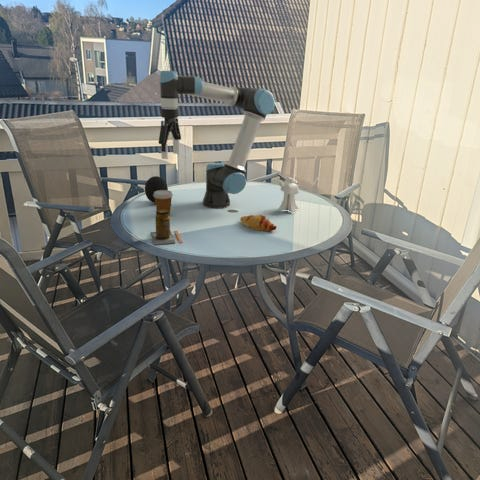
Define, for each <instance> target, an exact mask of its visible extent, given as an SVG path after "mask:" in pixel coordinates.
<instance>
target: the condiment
mask: <svg viewBox="0 0 480 480" xmlns="http://www.w3.org/2000/svg"><path fill="white" fill-rule="evenodd" d="M168 213H169V212H168V210H165V209H160V210H157V209H156V211H155V214H156V216H155V232H156V234H154V235H153V236H154V237H155V238H156V240H157V241H168V240H175V238H174V236H173V237H172V236H171V235H170V231H171V227H170V225H171V224H170V223H171V218H170V216H169V214H168ZM173 238H174V239H173Z"/></svg>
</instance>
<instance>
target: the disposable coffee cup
mask: <svg viewBox="0 0 480 480" xmlns="http://www.w3.org/2000/svg"><path fill="white" fill-rule="evenodd" d="M173 195H174V194H173V193H172V191H171V190H169V189H168V190H158V191H155V192H154V194H153V196H154V198H155V203H154V204H155V209H156V211H157V210H160V209H165V210H168V212H169V213H168V214H169V217H170V215H171V210H172V209H171V208H172V207H171V206H172V199H173Z"/></svg>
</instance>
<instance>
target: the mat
mask: <svg viewBox="0 0 480 480" xmlns="http://www.w3.org/2000/svg"><path fill="white" fill-rule="evenodd" d="M154 234H156V231H151V232H150V236H151V238H152V239H151V241H152V242H153V245H154V246H163V245H173V244H174V245H175V244H176V241H175V237H174V235H173V234H172V231H171V230H170V235H171V236H172V237H173V239H174V240H168V241H157V240H156V238H155V237H154V236H153V235H154Z"/></svg>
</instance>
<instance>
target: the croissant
mask: <svg viewBox="0 0 480 480" xmlns="http://www.w3.org/2000/svg"><path fill="white" fill-rule="evenodd" d="M239 221H240V222H241V223H242V224H243V225H244V226H246V227H247V228H248V229H252V230H254V229H255V231H263V230H264V232H272V231H276V229H277V225H275V224H274V223H273V222H271V221H270V220H269V218H266V215H263V214H257V215H252V214H251V215H245V216H242V217H240V220H239Z"/></svg>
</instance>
